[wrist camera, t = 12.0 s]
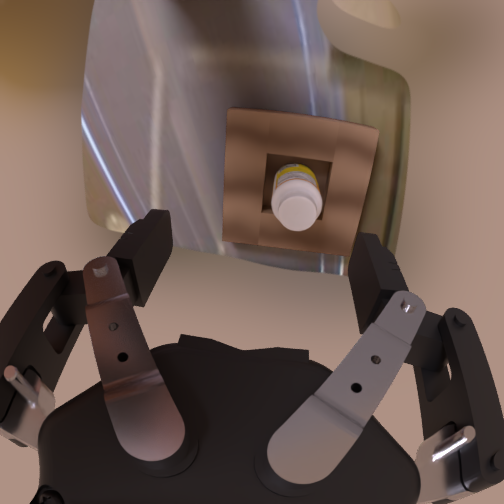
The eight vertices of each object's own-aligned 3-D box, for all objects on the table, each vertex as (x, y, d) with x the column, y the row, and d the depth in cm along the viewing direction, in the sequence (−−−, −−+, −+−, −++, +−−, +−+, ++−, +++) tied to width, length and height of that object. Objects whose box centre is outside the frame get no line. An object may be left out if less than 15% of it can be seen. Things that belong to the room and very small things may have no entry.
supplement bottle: (302, 207, 40) (305, 247, 31) (266, 187, 39) (259, 222, 30) (324, 174, 37) (335, 206, 28) (287, 152, 36) (287, 178, 27)
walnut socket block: (231, 107, 34) (227, 109, 31) (372, 126, 33) (379, 130, 30) (226, 230, 44) (222, 240, 41) (346, 245, 43) (349, 256, 40)
